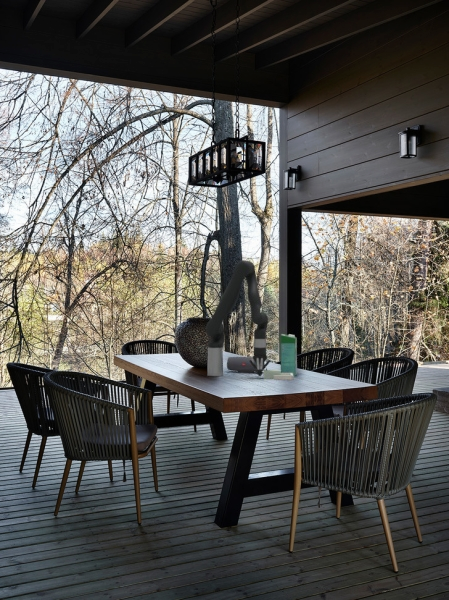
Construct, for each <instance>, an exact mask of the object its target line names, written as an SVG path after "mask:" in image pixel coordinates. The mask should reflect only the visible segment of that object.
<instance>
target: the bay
mask: <svg viewBox="0 0 449 600" xmlns="http://www.w3.org/2000/svg"><path fill="white" fill-rule="evenodd" d="M273 380H274V381H275V380H276V381H277V380H278V381H282V380H283V381H294V376H293V373H281V375H274V379H273Z"/></svg>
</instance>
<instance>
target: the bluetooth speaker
mask: <svg viewBox="0 0 449 600" xmlns="http://www.w3.org/2000/svg"><path fill="white" fill-rule="evenodd" d="M252 358H253V356H228V358H227V360H226V361H227V362H226V369H227V370H228V371H232V372H237V373H239V374H240V373H242V374H254V373H257V369H256V368H254V367H253V365H252V364H251V363H250V360H251V359H252ZM253 361H254V359H253ZM253 363H254V364H255V365H256V366H257V363H256V362H255V361H254V362H253ZM265 364H266V363H265V362H264V363H263V366H264V365H265ZM260 365H261V364H260V363H259V369H260ZM263 366H262V367H263ZM264 370H265V369H262V372H264Z"/></svg>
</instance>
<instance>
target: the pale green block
mask: <svg viewBox="0 0 449 600" xmlns="http://www.w3.org/2000/svg"><path fill="white" fill-rule="evenodd" d="M274 375H281V369H268V368H267V367H266V368H265V369H264V371H263V380H274Z"/></svg>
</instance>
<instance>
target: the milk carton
mask: <svg viewBox="0 0 449 600" xmlns="http://www.w3.org/2000/svg"><path fill="white" fill-rule="evenodd" d="M297 343H298V340H297V337H296V336H295V334H290V333H289V334H284V333H281V334H280V370H281V373H293V377H295V376H297V374H298V362H297V361H298V360H297V359H298V357H297V356H298V353H297V352H298V351H297V348H298V345H297Z"/></svg>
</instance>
